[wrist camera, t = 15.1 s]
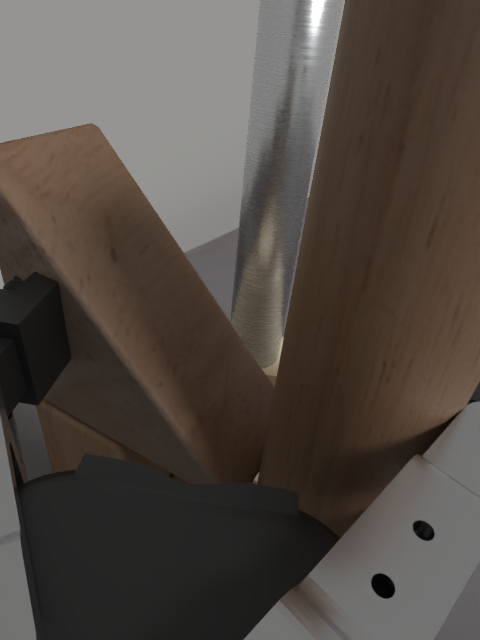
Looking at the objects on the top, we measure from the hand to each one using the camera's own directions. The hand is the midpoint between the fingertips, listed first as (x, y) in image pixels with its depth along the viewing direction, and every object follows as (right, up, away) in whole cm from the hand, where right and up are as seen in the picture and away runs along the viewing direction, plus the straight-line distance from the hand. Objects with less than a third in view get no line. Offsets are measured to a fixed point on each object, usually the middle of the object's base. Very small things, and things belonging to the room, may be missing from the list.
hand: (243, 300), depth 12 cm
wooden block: (-1, -10, +5) cm, 11 cm away
